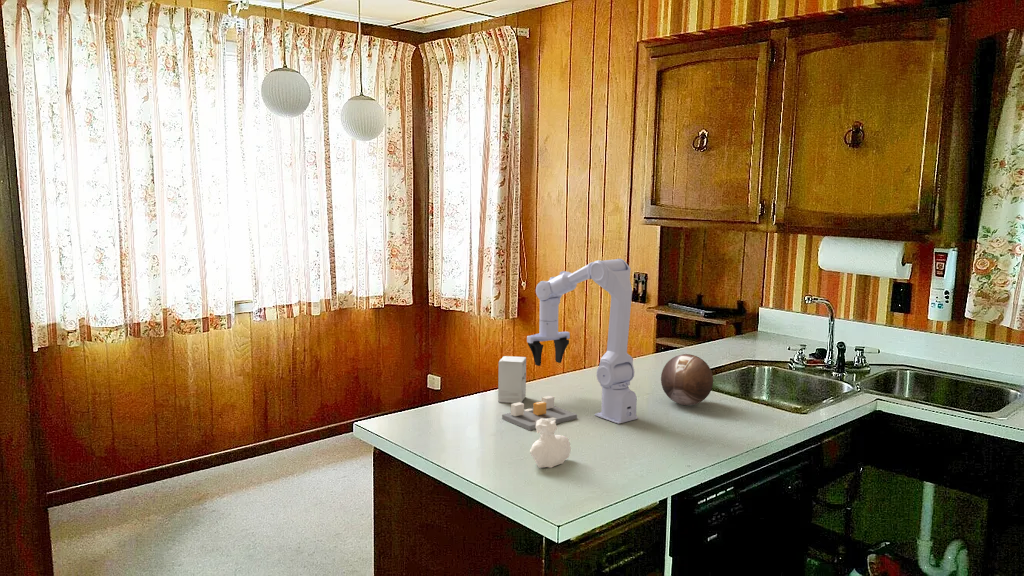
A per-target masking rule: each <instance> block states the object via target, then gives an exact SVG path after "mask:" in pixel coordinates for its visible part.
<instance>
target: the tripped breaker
mask: <svg viewBox="0 0 1024 576" xmlns="http://www.w3.org/2000/svg"><path fill="white" fill-rule="evenodd" d="M532 405H533V407H532V408H533V414H535V415H542V414H546V403H545V402H542V400H541V401H536V402H533V404H532Z"/></svg>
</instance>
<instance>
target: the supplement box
mask: <svg viewBox="0 0 1024 576" xmlns="http://www.w3.org/2000/svg"><path fill="white" fill-rule="evenodd" d="M497 375H498V380H497V381H498V383H497V384H498V386H497V387H498V388H497V389H498V390H497V402H498V403H507V404H508V403H510V404H513V403H518V402H521V403H523V402H524V399H525V398H526V396H527V395H526V393H527V389H526V388H527V357H526V356H509V355H506V356H505V355H503V356H502V358H500V359H499V361H498V374H497Z"/></svg>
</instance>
